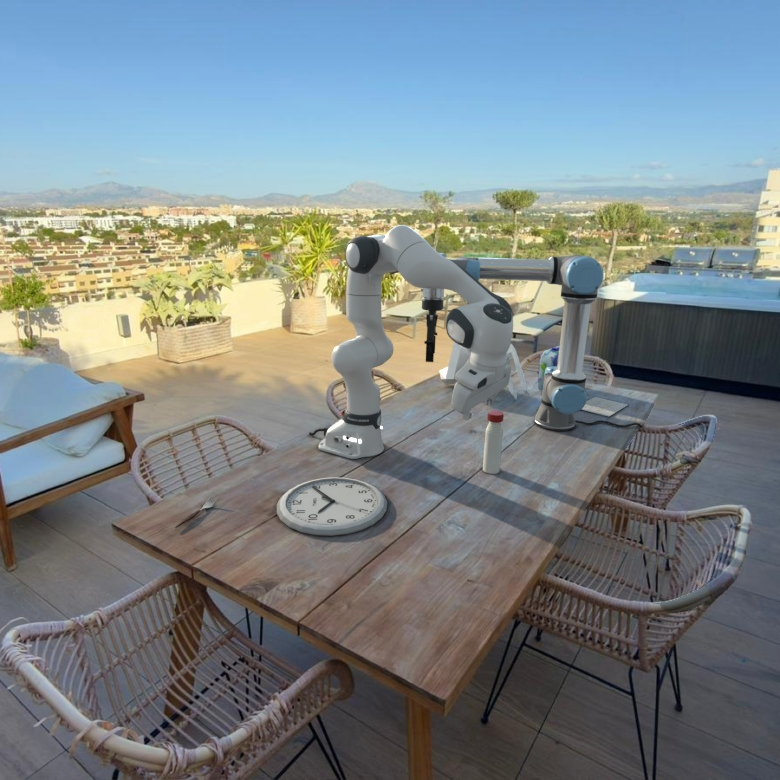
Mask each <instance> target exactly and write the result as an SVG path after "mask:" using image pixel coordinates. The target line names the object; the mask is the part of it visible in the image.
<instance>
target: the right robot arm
mask: <svg viewBox="0 0 780 780" xmlns="http://www.w3.org/2000/svg"><path fill="white" fill-rule="evenodd" d="M438 253H439V254H441V255H442V256H444V257H445V258H447V257H446V253H444V252H438ZM449 260H450V261H453V262H455V263H456V264H458V265H460V266H461V267H462V268H464V269H465V270H466V271H467V272H469V273H470V274H471V275H472V276H473V277H474V278H476V279H477V280H478V281H479V282H480V280H495V281H497V280H499V281H500V280H501V281H526V282H527V281H531V282H546V283H547V284H548V285H557V286H561V289H560V298H561V299H562V300H563V303H564V305H563V313H562V322H561V330H560V339H559V345H558V346H559V355H558V364H557V366H553V367H547V368H546V369H545V373H544V382H543V390H542V394H541V402H540V405H539V406H538V407H536V413H535V417H534V424H535V425H536V426H537V427H539V428H542V429H544V430H549V431H556V432H567V431H572V430H574V429H575V428H576V423H577V424H582V425H585V426H593V425H596V424H601V423H603V424H608V425H611V426H614V427H618V428H628V427H632V426H638V427H639V428H644V426H643V424H641V423H638V422H633V423H628V424H617V423H614V422H610V421H608V420H595V421H592V422H586V421H581V420H578V419H576V418H575V417H576V416H575V414H576V413H579V412H580V411H582V410H581V409H582V408H583V407H584V406H585V404H586V401H588V397H587V392H586V389H585V388H586V383H587V382H586V381H587V375H586V374H585V373H584V371H583V369H584V361H585V355H586V347H587V339H588V338H587V337H588V330H589V324H590V318H591V317H590V316H591V308H592V303H593V302H594V301H596V300H597V298H598V294H599V293H598V291H599V288H601V285H602V284H603V281H604V269H603V267H602V265H601V264H600V262H599V261H597V260H596V259H595V258H594V257H592V256H587V255H581V254H574V255H573V254H572V255H565V256H551V257H549V258H548V259H545V258H544V259H543V258H542V259H541V258H540V259H539V258H501V257H500V258H497V257H496V258H495V257H494V258H492V257H466V256H460V257H457V258H455V259H451V258H449ZM420 292H421V293H422V294H421V296H422V299H421V309H422V310H423V311H428V313H426V316H425V320H426V340H424V342H423V343H424V344H425V362H426V363H434V359H435V357H434V356H435V353H436V338H437V337H436V336H438V332H437V329H436V328H437V324H438V318H439V315H438V314H437V311H438V312H439V311H442V310H444V299H443V298H444V297H445V289H438V288H420Z"/></svg>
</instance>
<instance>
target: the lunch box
mask: <svg viewBox="0 0 780 780" xmlns="http://www.w3.org/2000/svg"><path fill="white" fill-rule="evenodd" d="M559 346H560V345H558V346H555V347H551V348H549V349H546V350H544V351H543V352H542V353H541V355H540V358H539V365H538V377H537V389H538V390H539V391H543V382H544V373H545V369H546V368H547V367H553V366H557V364H558V355H559Z"/></svg>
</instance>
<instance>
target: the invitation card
mask: <svg viewBox="0 0 780 780" xmlns="http://www.w3.org/2000/svg"><path fill="white" fill-rule="evenodd" d="M628 406H629V404H627V403H623V402H618V401H614V400H609V399H605V398H601V397H596V396H593V397H592V398H590V399H587V401H586V404H585V406H584V407H583V408H582V409H581V410H580V411H584V412H587V413H593V414H596V415H600V416H604V417H608V418H609V417H611V416H613V415H614V414H616V413H617V412H619V411H621V410H623V409H624V408H626V407H628Z"/></svg>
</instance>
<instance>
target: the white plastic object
mask: <svg viewBox="0 0 780 780" xmlns="http://www.w3.org/2000/svg"><path fill="white" fill-rule="evenodd" d="M471 352H472V351H471V349H470V348H469V349H468V348H465V347H463V346H461V345H459V344H457V343H455V342H454V341H453V344H452V349H451V353H450V357H449V362H448V366H446V367H444V368H442V369H440V370H439V371H438V372H439V376H440V381H442V383H443V384H444V385H445V386H449V385H455V384H456V383H457V380H455V375H456V373H457V372H458V371H459V370H460V369H461V368H462V367H463V366H464V365H465V364H466V362H467V361H468V360H469V359H470V356H471ZM506 356H507V357H509V358H510V361H511V360H513V363H514V366H515V369H516V372H517V376H518V380H519V382H520V385H521V389H522V391H523V393H524V395H525V396H526V397H528V396H531V395H530V390H529V388H528V387H529V386H528V384H527V381H526V378H525V375H524V371H523V369H522V368H523V367H522V366H521V362H520V359H519V355H518V352H517V349H516V347H515V346H514V345H513V343H510V347H509V349H508V351H507V353H506ZM507 387H508V390H509V393H510V394H511V395H512V397H513V398H514V399H515V400H517V392H516V391H517V390H516V388H515V385H514V381H513V378H512V375H511V374H510V380H509V383H508V385H507Z"/></svg>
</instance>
